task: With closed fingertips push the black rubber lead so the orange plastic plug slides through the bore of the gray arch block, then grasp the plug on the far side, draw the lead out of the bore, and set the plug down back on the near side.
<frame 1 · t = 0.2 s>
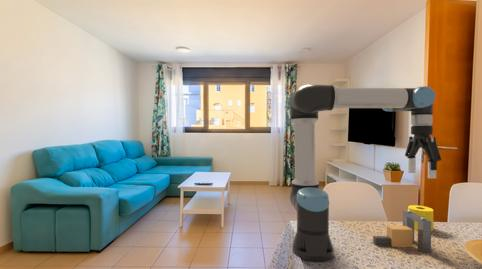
hand: (421, 175, 107), 28 cm above the table, fingers open, 13 cm apart
plug: (399, 244, 103), on the table
gray arch block: (415, 245, 103), on the table
tape roll: (420, 228, 122), on the table
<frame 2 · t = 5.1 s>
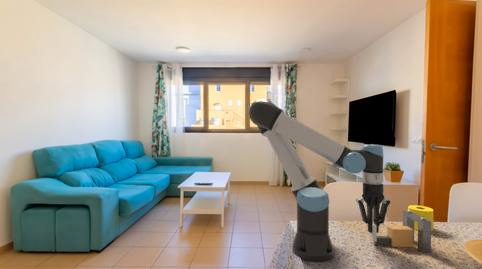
hand: (373, 240, 104), 2 cm above the table, fingers closed
plug: (400, 244, 103), on the table, touching gripper
everything else where it was.
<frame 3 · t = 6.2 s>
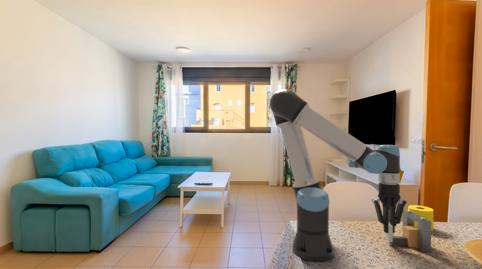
hand: (389, 240, 103), 2 cm above the table, fingers closed
plug: (416, 245, 103), on the table, touching gripper
everything else where it was.
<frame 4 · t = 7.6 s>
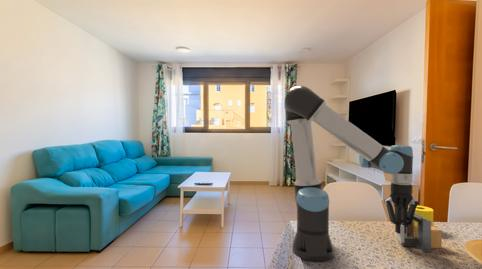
hand: (400, 241, 103), 1 cm above the table, fingers closed
plug: (427, 245, 103), on the table
everything else where it was.
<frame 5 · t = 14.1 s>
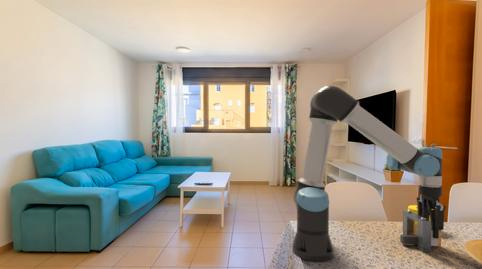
hand: (429, 242, 103), 1 cm above the table, fingers closed on plug, 4 cm apart
plug: (427, 243, 103), point 1 cm above the table, touching gripper
everything else where it was.
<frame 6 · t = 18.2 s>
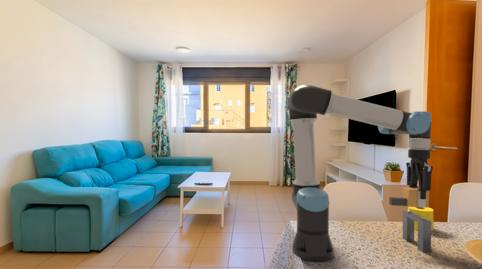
hand: (417, 205, 105), 16 cm above the table, fingers closed on plug, 4 cm apart
plug: (415, 205, 105), point 15 cm above the table, touching gripper
everything else where it was.
when the fingers open (0 cm above the table, at t = 22.4 s): plug stays where it is, on the table.
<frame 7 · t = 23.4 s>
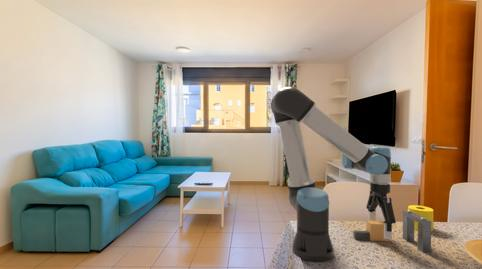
hand: (379, 232, 109), 3 cm above the table, fingers open, 13 cm apart
plug: (377, 238, 109), on the table
everything else where it was.
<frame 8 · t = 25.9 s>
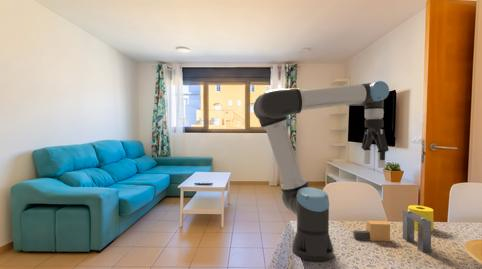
hand: (373, 165, 115), 31 cm above the table, fingers open, 13 cm apart
nothing on the table moved.
at the end: plug inside the target area (0.9 cm from its centre), on the table; plug moved 8.1 cm from its start; plug tilted 0° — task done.
